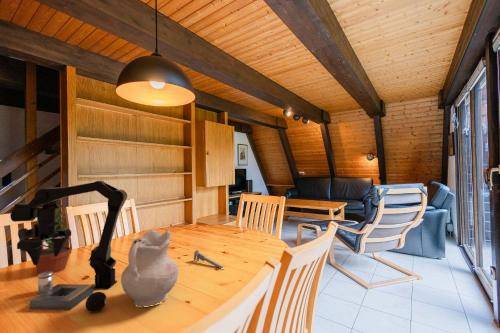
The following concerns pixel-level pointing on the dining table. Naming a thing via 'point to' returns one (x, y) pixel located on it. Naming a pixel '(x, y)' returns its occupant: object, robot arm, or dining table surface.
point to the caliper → (202, 257)
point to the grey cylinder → (45, 281)
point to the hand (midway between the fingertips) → (46, 260)
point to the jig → (62, 297)
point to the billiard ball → (96, 302)
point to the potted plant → (47, 255)
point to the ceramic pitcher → (149, 269)
